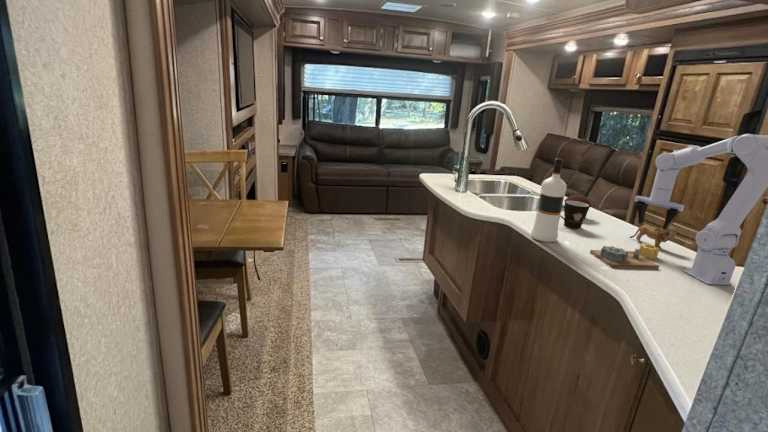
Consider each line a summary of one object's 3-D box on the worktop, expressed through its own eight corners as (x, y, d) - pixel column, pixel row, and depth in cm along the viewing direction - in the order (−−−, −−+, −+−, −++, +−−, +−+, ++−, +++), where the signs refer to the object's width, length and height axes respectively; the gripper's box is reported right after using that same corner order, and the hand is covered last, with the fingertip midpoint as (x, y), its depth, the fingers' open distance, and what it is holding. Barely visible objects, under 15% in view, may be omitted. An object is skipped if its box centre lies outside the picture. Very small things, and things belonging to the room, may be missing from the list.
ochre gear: (660, 259, 138) (663, 250, 137) (645, 259, 137) (648, 249, 136) (648, 253, 143) (651, 244, 142) (634, 252, 142) (636, 243, 141)
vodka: (525, 235, 153) (539, 156, 144) (545, 233, 156) (560, 156, 147) (541, 243, 145) (558, 160, 136) (562, 242, 148) (579, 161, 139)
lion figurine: (673, 250, 148) (680, 227, 145) (667, 253, 145) (674, 229, 142) (632, 237, 159) (637, 216, 156) (625, 239, 156) (631, 217, 154)
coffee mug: (584, 226, 169) (589, 203, 166) (581, 231, 162) (587, 207, 159) (555, 220, 175) (560, 198, 172) (551, 225, 168) (556, 202, 165)
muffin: (581, 222, 175) (586, 199, 172) (556, 215, 183) (561, 194, 180) (592, 218, 183) (597, 196, 180) (568, 211, 191) (572, 191, 188)
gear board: (658, 269, 129) (661, 257, 128) (611, 267, 127) (614, 255, 126) (633, 254, 141) (636, 243, 139) (589, 253, 139) (592, 241, 138)
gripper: (691, 191, 136) (679, 230, 139) (643, 183, 146) (634, 218, 150) (684, 193, 131) (673, 233, 135) (636, 184, 142) (626, 221, 146)
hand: (652, 225), depth 142 cm, fingers open, 7 cm apart
